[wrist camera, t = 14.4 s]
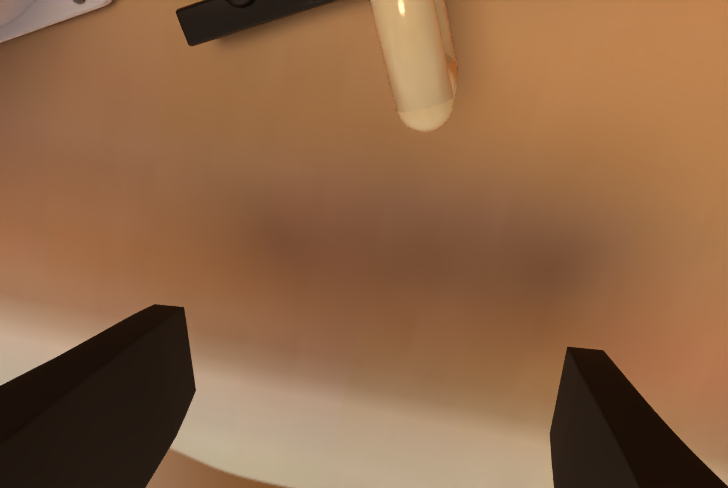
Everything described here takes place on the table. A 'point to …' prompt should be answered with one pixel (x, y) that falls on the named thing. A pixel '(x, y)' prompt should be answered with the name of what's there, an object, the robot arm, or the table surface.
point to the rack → (235, 16)
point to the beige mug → (418, 60)
